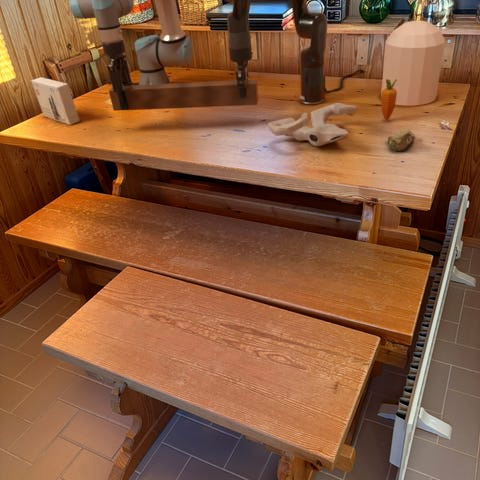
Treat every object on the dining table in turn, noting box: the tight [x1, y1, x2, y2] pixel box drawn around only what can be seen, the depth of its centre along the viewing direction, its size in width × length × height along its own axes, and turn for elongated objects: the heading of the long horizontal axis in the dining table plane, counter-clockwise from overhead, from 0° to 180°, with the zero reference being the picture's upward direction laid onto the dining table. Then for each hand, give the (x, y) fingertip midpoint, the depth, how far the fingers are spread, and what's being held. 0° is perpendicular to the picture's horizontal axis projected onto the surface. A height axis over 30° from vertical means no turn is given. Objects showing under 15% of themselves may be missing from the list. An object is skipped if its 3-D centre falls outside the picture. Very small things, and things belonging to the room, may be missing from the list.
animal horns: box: [267, 102, 358, 147], centre depth 155 cm, size 28×26×12 cm
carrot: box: [380, 79, 397, 122], centre depth 161 cm, size 5×5×15 cm
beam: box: [108, 79, 259, 112], centre depth 169 cm, size 54×5×8 cm, turn 82°
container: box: [380, 20, 446, 107], centre depth 176 cm, size 21×21×28 cm
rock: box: [387, 129, 416, 152], centre depth 146 cm, size 11×6×10 cm
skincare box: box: [30, 76, 81, 126], centre depth 193 cm, size 21×5×16 cm, turn 49°
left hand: (127, 106), depth 174 cm, fingers closed on beam, 5 cm apart
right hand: (244, 94), depth 166 cm, fingers closed on beam, 5 cm apart
